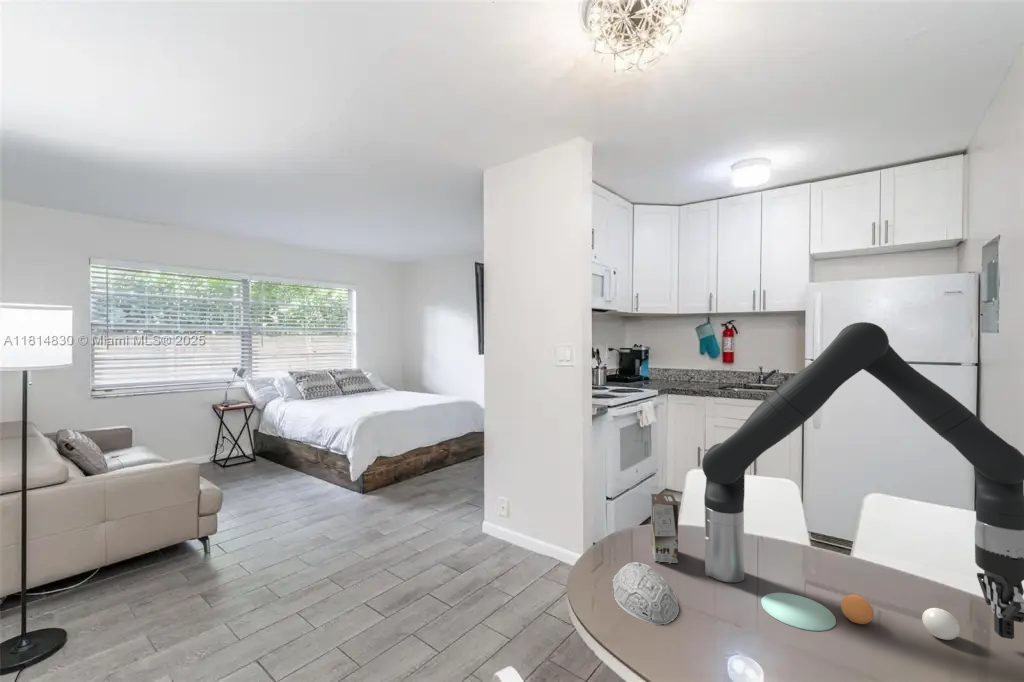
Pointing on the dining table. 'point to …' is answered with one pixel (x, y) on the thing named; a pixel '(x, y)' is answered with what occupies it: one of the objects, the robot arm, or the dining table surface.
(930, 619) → the cue ball
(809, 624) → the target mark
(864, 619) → the orange ball
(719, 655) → the dining table surface
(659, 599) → the grey oval dome
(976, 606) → the dining table surface
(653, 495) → the coffee box
